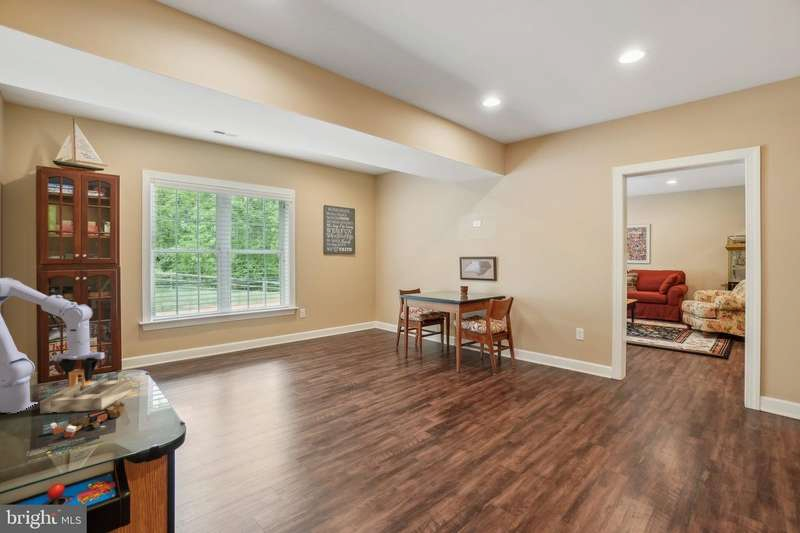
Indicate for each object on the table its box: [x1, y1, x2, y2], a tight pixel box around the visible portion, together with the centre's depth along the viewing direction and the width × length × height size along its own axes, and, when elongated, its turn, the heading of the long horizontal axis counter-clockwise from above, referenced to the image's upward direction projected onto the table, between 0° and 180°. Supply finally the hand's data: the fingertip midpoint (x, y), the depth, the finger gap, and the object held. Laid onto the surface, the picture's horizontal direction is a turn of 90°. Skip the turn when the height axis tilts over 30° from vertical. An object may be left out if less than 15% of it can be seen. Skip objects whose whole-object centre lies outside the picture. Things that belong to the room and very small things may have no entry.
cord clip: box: [68, 368, 91, 387], centre depth 127 cm, size 5×3×5 cm, turn 98°
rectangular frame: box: [39, 379, 133, 414], centre depth 131 cm, size 18×18×5 cm
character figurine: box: [50, 401, 126, 439], centre depth 114 cm, size 10×18×4 cm, turn 158°
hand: (80, 380), depth 127 cm, fingers closed on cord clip, 5 cm apart
